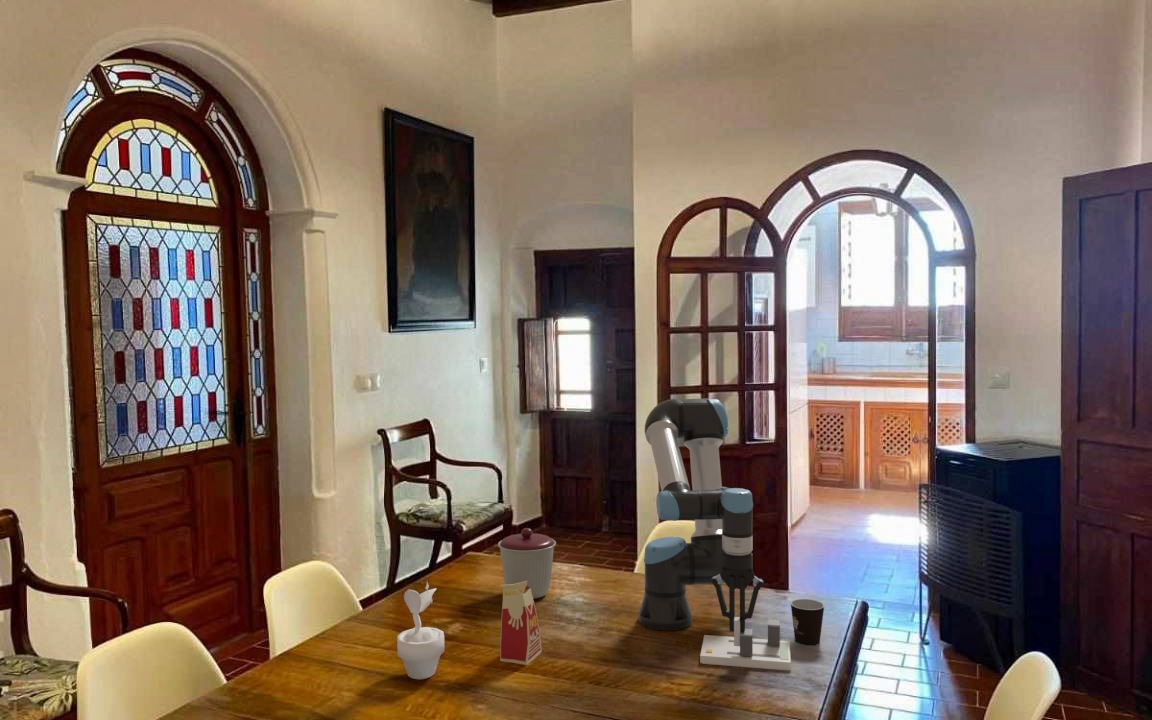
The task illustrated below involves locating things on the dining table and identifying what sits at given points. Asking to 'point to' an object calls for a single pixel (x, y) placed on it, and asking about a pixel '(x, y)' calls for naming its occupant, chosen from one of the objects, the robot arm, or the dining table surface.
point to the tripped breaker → (746, 642)
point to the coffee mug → (807, 621)
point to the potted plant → (420, 639)
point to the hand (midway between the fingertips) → (737, 644)
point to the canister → (528, 560)
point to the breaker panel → (763, 656)
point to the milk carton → (519, 625)
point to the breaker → (773, 632)
